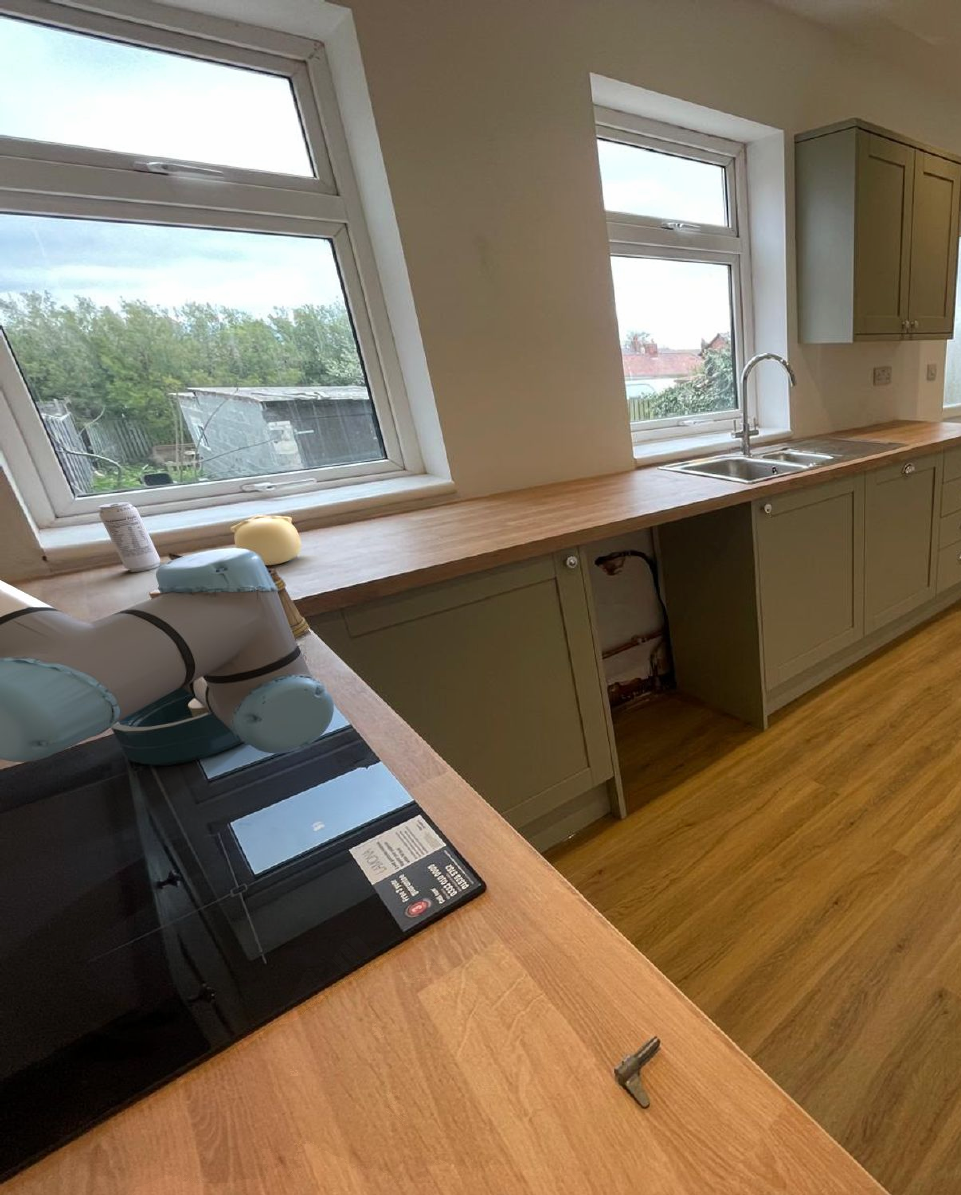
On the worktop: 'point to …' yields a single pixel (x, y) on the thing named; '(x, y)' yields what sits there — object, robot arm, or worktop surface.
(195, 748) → the bowl
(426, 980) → the worktop surface
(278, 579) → the wooden mug
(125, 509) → the energy drink can
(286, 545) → the yellow persimmon
